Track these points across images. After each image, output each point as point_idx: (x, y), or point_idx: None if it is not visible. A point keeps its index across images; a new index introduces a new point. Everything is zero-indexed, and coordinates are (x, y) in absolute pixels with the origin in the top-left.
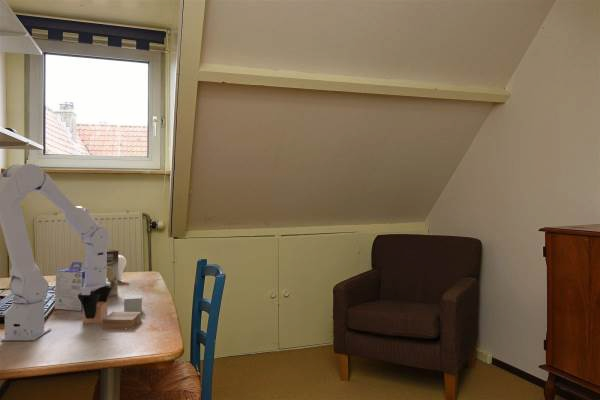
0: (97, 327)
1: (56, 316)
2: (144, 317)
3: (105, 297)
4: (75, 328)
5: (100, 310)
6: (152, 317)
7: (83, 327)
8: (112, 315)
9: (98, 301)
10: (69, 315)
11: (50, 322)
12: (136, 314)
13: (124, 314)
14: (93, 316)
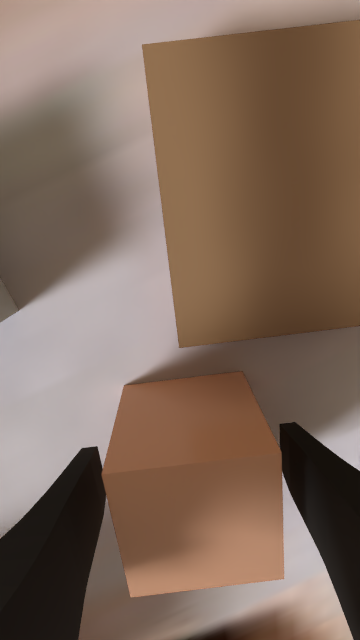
0: (338, 346)
1: (135, 629)
2: (33, 101)
3: (55, 541)
4: (354, 451)
5: (268, 427)
6: (12, 10)
7: (336, 422)
8: (300, 296)
9: (83, 551)
10: (104, 593)
11: (244, 601)
12: (258, 55)
13: (263, 198)
14: (304, 430)
